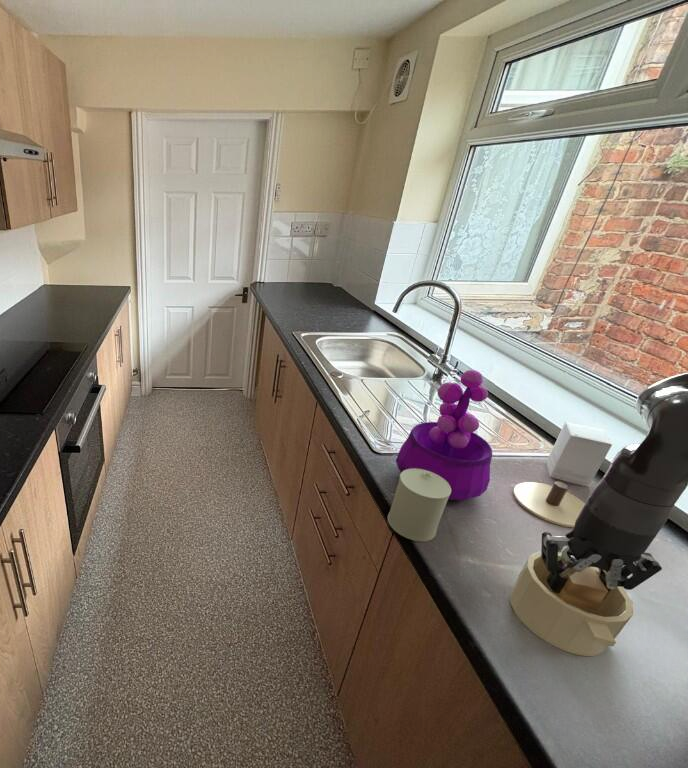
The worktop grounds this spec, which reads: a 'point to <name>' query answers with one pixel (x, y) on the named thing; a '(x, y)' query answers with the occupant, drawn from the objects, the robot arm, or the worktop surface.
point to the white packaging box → (578, 454)
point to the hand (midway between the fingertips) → (572, 592)
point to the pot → (567, 613)
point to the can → (418, 504)
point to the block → (584, 589)
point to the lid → (549, 502)
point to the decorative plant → (452, 441)
